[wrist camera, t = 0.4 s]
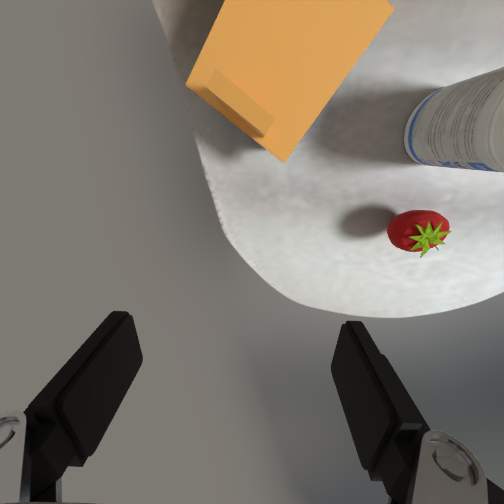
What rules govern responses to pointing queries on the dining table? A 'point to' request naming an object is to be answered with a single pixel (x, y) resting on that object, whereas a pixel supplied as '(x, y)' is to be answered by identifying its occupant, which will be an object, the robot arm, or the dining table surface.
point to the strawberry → (418, 230)
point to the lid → (282, 62)
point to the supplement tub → (460, 125)
